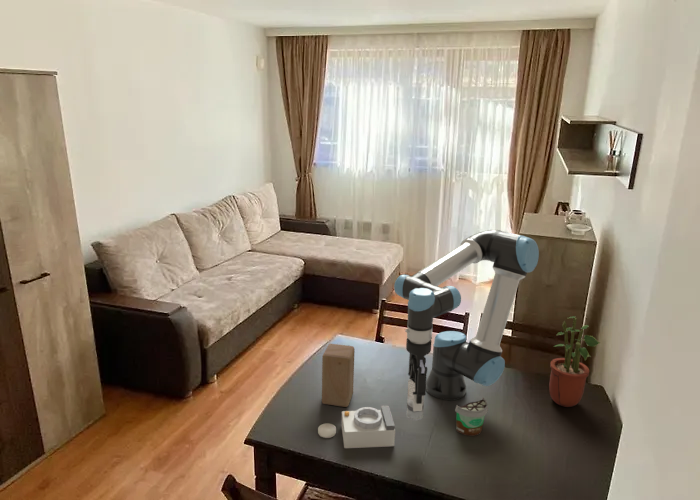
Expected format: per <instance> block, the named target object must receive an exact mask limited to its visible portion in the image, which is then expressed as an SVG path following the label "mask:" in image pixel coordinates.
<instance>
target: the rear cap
mask: <svg viewBox="0 0 700 500" xmlns="http://www.w3.org/2000/svg"><path fill="white" fill-rule="evenodd" d="M317 434H318V435H319V437H321V438H324V439H330V438H332V437H334V436H335V435H336V434H337V427H336V426H335V425H334V424H333V423H328V422H327V423H326V422H325V423H323V424H320V425H319V426H318V428H317Z"/></svg>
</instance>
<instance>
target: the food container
mask: <svg viewBox="0 0 700 500" xmlns="http://www.w3.org/2000/svg"><path fill="white" fill-rule="evenodd" d="M454 412H456V413H455V415H456V417H455V418H456V422H455V425H456V427H455V428H456V432H458V433H460V434H462V435H464V436H467V437H468V436H471V437H475V436H478V435H480V434H481V433H482V431H483V426H484V423H485V422H484V421H485V416H486V415H487V414H488V412H489V404H488V402H487V399H485V397H482V398H481V399H480V400H477V401H471V402H468V403H466V404H464V405H462V406H458V405H456V406H455V408H454ZM479 433H480V434H479Z"/></svg>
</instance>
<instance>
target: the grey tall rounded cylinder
mask: <svg viewBox="0 0 700 500" xmlns="http://www.w3.org/2000/svg"><path fill="white" fill-rule="evenodd" d="M407 381H408V383H407V397H406V398H407V400H406V417H407V418H408V419H410V420H412V421H420V420H422V419H423V418H424V406H425V396H423V405H422V411H413V402H414V395H413V392H415V378H411V379H408V380H407Z"/></svg>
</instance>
